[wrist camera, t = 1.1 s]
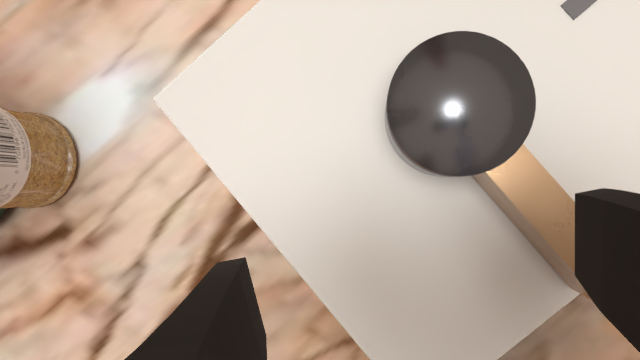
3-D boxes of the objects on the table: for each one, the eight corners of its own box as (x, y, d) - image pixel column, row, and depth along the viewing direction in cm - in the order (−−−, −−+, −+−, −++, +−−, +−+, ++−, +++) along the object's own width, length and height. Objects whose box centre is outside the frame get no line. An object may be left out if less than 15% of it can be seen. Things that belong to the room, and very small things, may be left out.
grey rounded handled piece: (359, 111, 21) (357, 97, 18) (452, 30, 21) (468, 0, 17) (536, 314, 20) (570, 342, 17) (636, 235, 20) (691, 247, 16)
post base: (756, 140, 21) (778, 137, 20) (418, 409, 22) (420, 421, 21) (464, -173, 22) (469, -192, 21) (161, 101, 23) (151, 98, 22)
